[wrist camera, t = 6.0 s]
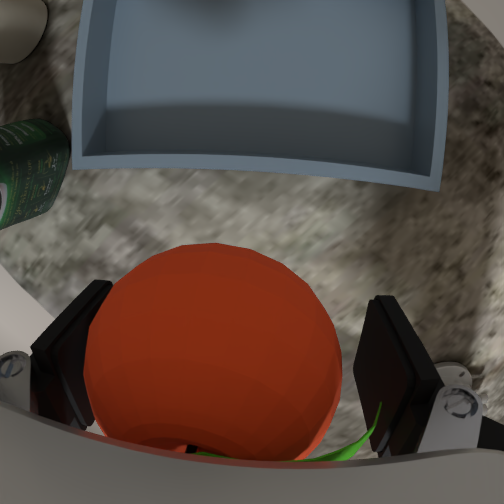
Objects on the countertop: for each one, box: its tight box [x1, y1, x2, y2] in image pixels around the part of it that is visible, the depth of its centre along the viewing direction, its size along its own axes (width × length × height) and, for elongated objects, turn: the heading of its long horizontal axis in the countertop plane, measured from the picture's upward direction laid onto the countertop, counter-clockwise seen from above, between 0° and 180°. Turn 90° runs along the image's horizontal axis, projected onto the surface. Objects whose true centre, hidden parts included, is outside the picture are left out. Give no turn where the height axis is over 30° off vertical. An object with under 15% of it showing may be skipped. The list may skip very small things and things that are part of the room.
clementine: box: [83, 243, 382, 462], centre depth 8 cm, size 8×7×7 cm
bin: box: [72, 0, 449, 192], centre depth 20 cm, size 28×18×5 cm, turn 87°
